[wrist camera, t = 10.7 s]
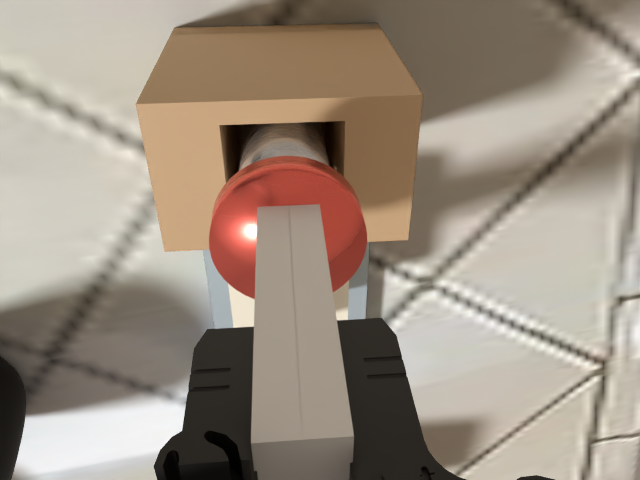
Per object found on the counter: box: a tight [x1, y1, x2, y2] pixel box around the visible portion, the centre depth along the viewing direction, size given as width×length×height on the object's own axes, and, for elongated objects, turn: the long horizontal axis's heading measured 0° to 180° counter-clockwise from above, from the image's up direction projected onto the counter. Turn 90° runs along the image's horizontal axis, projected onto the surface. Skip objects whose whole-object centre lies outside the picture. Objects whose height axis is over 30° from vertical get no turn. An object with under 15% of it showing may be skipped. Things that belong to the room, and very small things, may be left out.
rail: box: [136, 23, 423, 329], centre depth 28 cm, size 32×8×9 cm, turn 0°
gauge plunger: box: [209, 122, 367, 299], centre depth 18 cm, size 4×4×9 cm
